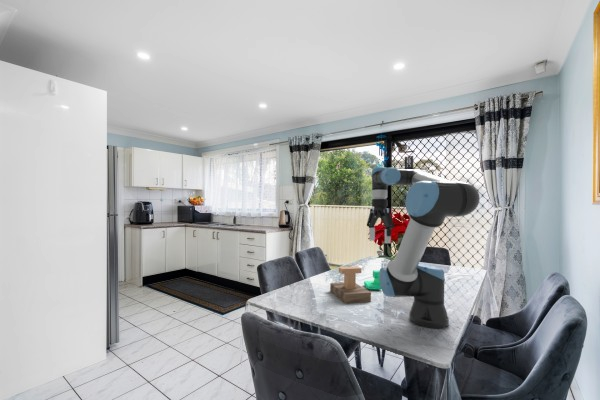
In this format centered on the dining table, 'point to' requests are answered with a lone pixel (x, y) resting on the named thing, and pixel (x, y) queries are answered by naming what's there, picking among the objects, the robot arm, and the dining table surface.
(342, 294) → the well block
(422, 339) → the dining table surface
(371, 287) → the camera mount
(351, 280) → the wooden t-shaped post
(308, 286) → the dining table surface
